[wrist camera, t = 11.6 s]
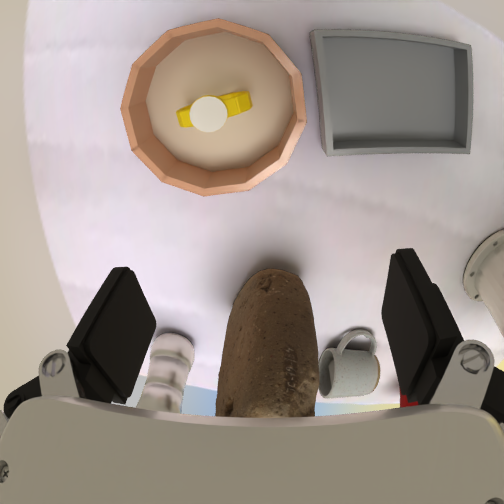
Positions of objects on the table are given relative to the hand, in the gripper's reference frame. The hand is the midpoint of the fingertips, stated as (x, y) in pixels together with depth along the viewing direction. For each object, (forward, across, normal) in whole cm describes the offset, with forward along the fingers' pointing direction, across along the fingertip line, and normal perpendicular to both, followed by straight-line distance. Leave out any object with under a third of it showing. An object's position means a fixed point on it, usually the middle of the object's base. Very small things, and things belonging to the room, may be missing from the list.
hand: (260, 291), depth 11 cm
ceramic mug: (+22, -9, +32) cm, 40 cm away
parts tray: (+21, -12, -5) cm, 24 cm away
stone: (+21, +3, +18) cm, 28 cm away
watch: (+20, +4, -4) cm, 21 cm away
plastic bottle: (+20, +18, +28) cm, 39 cm away
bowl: (+20, +4, -5) cm, 21 cm away
